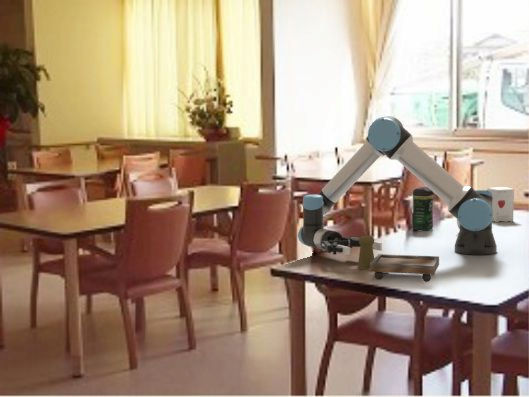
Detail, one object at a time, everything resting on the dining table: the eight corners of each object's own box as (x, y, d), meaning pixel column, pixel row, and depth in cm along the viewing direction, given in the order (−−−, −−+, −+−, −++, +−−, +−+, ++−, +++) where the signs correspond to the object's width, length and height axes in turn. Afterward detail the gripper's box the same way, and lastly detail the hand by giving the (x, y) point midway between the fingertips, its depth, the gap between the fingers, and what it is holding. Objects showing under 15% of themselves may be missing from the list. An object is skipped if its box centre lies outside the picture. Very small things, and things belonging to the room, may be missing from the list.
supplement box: (495, 222, 370) (496, 189, 368) (486, 219, 378) (486, 187, 376) (514, 221, 371) (514, 188, 369) (504, 218, 380) (504, 186, 378)
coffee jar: (427, 231, 349) (427, 188, 347) (410, 230, 353) (410, 187, 351) (435, 228, 357) (435, 186, 355) (418, 227, 361) (418, 185, 359)
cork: (356, 265, 284) (355, 234, 283) (373, 265, 285) (373, 233, 283) (359, 269, 278) (359, 237, 277) (377, 268, 279) (377, 236, 277)
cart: (438, 273, 269) (439, 256, 268) (433, 283, 255) (433, 265, 254) (378, 270, 275) (378, 254, 275) (370, 280, 261) (370, 263, 260)
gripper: (355, 246, 306) (393, 255, 288) (300, 254, 293) (336, 264, 275) (355, 226, 305) (393, 234, 287) (300, 234, 292) (336, 242, 274)
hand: (365, 249), depth 281 cm, fingers open, 13 cm apart
